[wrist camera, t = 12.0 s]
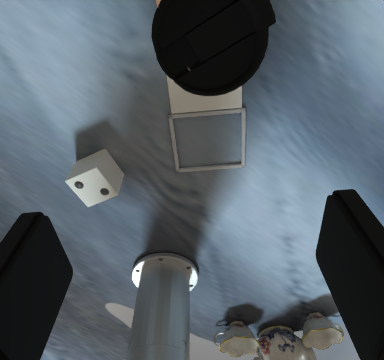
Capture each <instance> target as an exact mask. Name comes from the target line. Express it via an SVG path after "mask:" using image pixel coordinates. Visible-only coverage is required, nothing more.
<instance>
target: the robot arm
mask: <svg viewBox="0 0 384 360" xmlns="http://www.w3.org/2000/svg"><path fill="white" fill-rule="evenodd" d="M316 259H317V263H318V265H319V267H320V270H321V272H322V274H323V276H324V279H325V281H326V283H327V285H328V288H329V290H330V292H331V294H332V297H333V299H334V301H335V304H336V306H337V308H338V310H339V313H340V315H341V317H342V319H343V322H344V324H345V326H346V328H347V331H348V333H349V335H350V337H351V340H352V342H353V344H354V347H355V349H356V351H357V353H358V356H359V358H360V359H361V360H384V227H383V226H382V224H381V223H380V222H379V220H378V219H377V218H376V217H375V215H374V214H373V213H372V211H371V210H370V209H369V207H368V206H367V205H366V204H365V202H364V201H363V200H362V198H361V197H360V196H359V194H358V193H357V192H356V191H355V190H353V189H348V190H336V191H334V192H333V194H332V195H329V196H328V197H327V200H326V205H325V210H324V215H323V220H322V225H321V230H320V234H319V239H318V244H317V249H316ZM72 276H73V269H72V266H71V264H70V262H69V260H68V257H67V255H66V253H65V251H64V249H63V247H62V245H61V242H60V240H59V238H58V236H57V234H56V232H55V230H54V227H53V225H52V223H51V221H50V219H49V217H48V216H44V214H43V213H42V212H31V213H23V214H21V215H20V216H19V217H18V219H17V220H16V222H15V223H14V224H13V226H12V227H11V229H10V230H9V231H8V233H7V234H6V236H5V237H4V239H3V240H2V241H1V243H0V360H40V359H41V356H42V354H43V351H44V348H45V346H46V343H47V341H48V338H49V336H50V333H51V331H52V328H53V325H54V323H55V320H56V318H57V315H58V313H59V310H60V307H61V305H62V302H63V300H64V297H65V295H66V292H67V290H68V287H69V284H70V282H71V279H72ZM132 280H133V282H134V284H135V285H136V286H137V287H138V291H137V297H136V303H135V310H134V316H133V322H132V328H131V334H130V340H129V346H128V352H127V358H126V360H189V334H190V291H191V290H192V289H193V288H194V287H195V285H196V284H197V281H198V271H197V268H196V266H195V265H194V264H193V263H192V262H191V261H190V260H188V259H187V258H185V257H183V256H180V255H177V254H173V253H154V254H150V255H147V256H145V257H143V258H141V259H140V260H139V261H137V263H136V264H135V265H134V267H133V271H132Z"/></svg>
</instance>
